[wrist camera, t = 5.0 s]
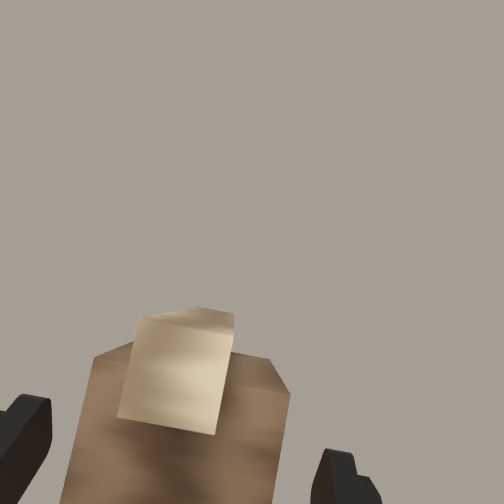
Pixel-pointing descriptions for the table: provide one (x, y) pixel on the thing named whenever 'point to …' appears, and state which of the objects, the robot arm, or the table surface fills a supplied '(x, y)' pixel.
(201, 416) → the beige block
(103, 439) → the stand
